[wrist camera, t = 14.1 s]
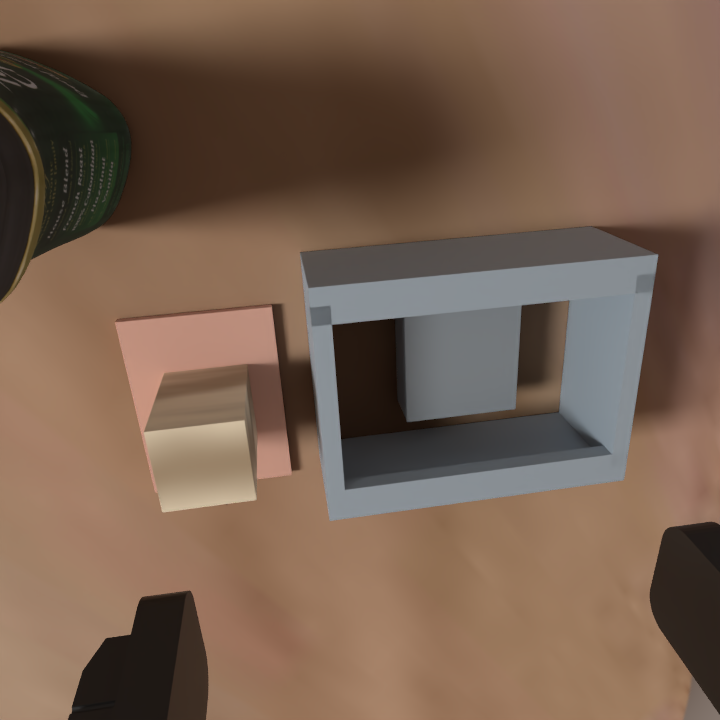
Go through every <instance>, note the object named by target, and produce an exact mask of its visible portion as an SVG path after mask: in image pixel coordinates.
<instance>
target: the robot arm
mask: <svg viewBox="0 0 720 720" xmlns="http://www.w3.org/2000/svg"><path fill="white" fill-rule="evenodd" d="M650 603H651V608H652V612H653V615H654V618H655V620H656V622H657V624H658V626H659V628H660V630H661V631H662V633H663V634H664V635H665V637H666V638H667V640H668V641H669V643H670V644H671V645H672V647H673V648H674V650H675V651H676V653H677V654H678V656H679V657H680V658H681V660H682V661H683V663H684V664H685V666H686V667H687V668H688V670H689V671H690V673H691V674H692V676H693V677H694V678H695V680H696V681H697V683H698V684H699V686H700V687H701V688H702V690H703V691H704V693H705V694H706V696H707V697H708V699H709V700H710V701H711V703H712V704H713V706H714V707H715V709H716V710H717V711H718V713H719V714H720V525H719V524H717V523H715V522H705V523H698V524H691V525H683V526H676V527H669V528H667V529H666V530H665V532H664V534H663V537H662V541H661V545H660V549H659V554H658V558H657V562H656V567H655V571H654V575H653V580H652V584H651V588H650ZM207 701H208V665H207V657H206V651H205V647H204V642H203V638H202V633H201V629H200V625H199V620H198V616H197V611H196V607H195V602H194V598H193V595H192V593H191V591H183V592H176V593H168V594H161V595H154V596H146V597H142V598H141V599H140V601H139V604H138V607H137V611H136V615H135V619H134V624H133V628H132V632H131V635H126V636H119V637H112V638H106V639H105V641H104V642H103V643H102V645H101V646H100V648H99V649H98V650H97V652H96V653H95V655H94V656H93V657H92V659H91V660H90V661H89V663H88V664H87V666H86V667H85V668H84V670H83V672H82V675H81V678H80V682H79V685H78V688H77V692H76V695H75V698H74V702H73V705H72V714H70V715H69V718H68V720H206V712H207Z"/></svg>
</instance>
